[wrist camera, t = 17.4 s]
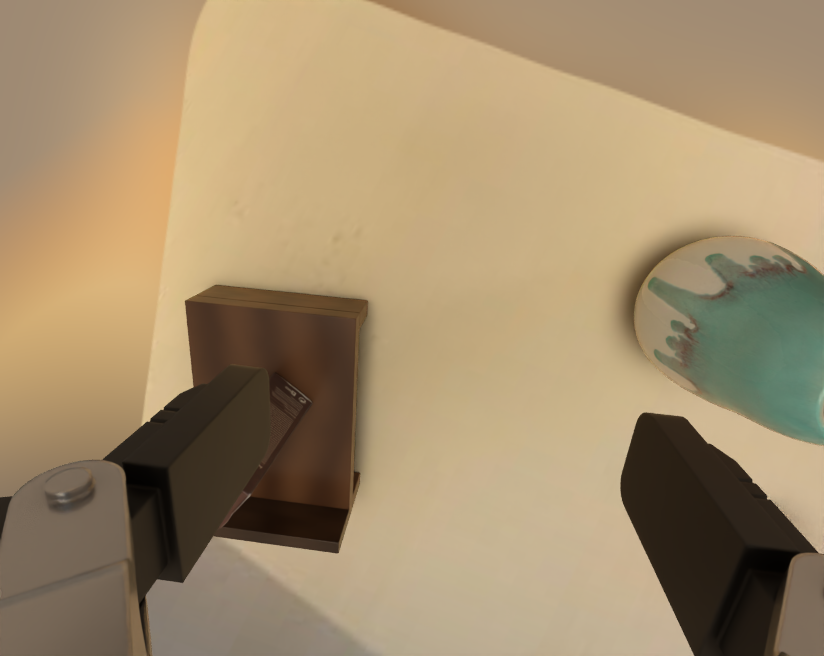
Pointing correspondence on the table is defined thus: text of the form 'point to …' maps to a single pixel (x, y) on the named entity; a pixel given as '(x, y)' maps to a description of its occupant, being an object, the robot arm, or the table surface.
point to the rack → (314, 377)
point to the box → (276, 430)
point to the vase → (740, 330)
